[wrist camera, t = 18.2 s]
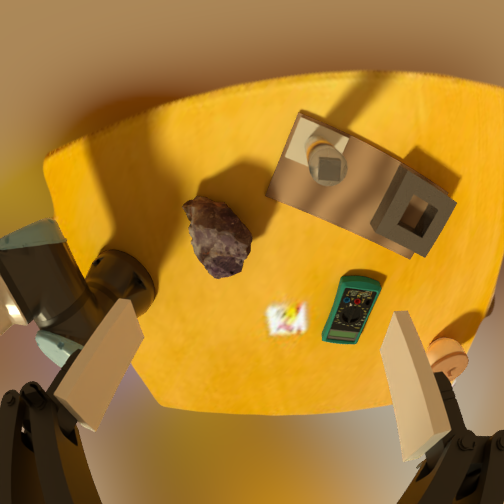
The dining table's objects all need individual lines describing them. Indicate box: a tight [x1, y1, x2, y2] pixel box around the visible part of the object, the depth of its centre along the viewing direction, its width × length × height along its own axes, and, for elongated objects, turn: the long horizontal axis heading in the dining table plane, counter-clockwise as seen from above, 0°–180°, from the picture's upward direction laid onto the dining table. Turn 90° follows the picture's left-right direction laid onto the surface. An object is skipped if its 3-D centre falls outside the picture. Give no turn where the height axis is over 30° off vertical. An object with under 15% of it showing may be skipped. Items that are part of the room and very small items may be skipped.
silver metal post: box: [304, 135, 348, 186], centre depth 28 cm, size 3×3×15 cm
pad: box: [285, 117, 349, 166], centre depth 35 cm, size 7×6×1 cm
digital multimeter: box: [322, 276, 382, 344], centre depth 47 cm, size 7×15×3 cm, turn 174°
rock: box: [182, 196, 252, 279], centre depth 40 cm, size 12×9×10 cm
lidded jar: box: [426, 337, 469, 381], centre depth 46 cm, size 11×11×9 cm
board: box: [265, 112, 448, 259], centre depth 37 cm, size 26×13×1 cm, turn 71°
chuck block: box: [370, 165, 457, 257], centre depth 35 cm, size 10×10×3 cm
